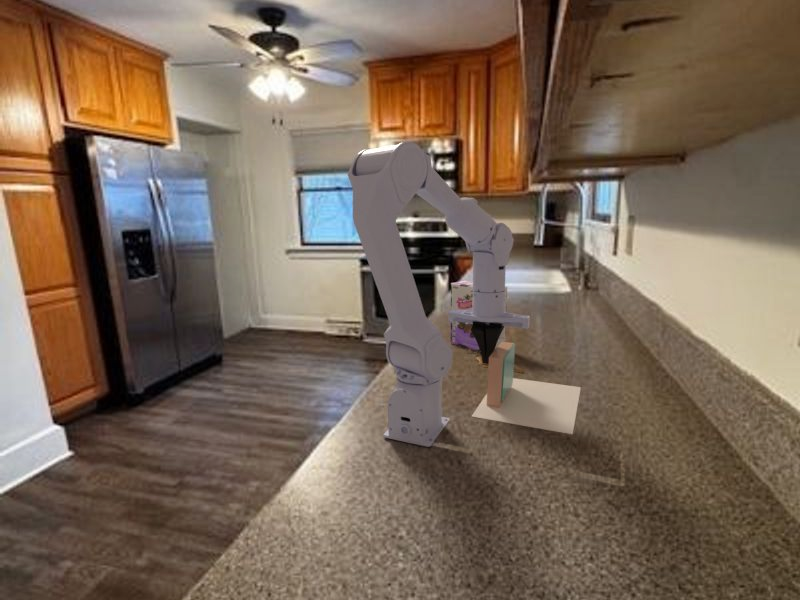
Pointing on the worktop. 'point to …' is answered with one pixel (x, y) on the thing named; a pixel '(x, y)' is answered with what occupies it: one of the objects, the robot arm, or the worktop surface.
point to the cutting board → (535, 406)
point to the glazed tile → (500, 373)
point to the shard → (488, 365)
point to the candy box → (463, 301)
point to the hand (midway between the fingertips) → (487, 362)
